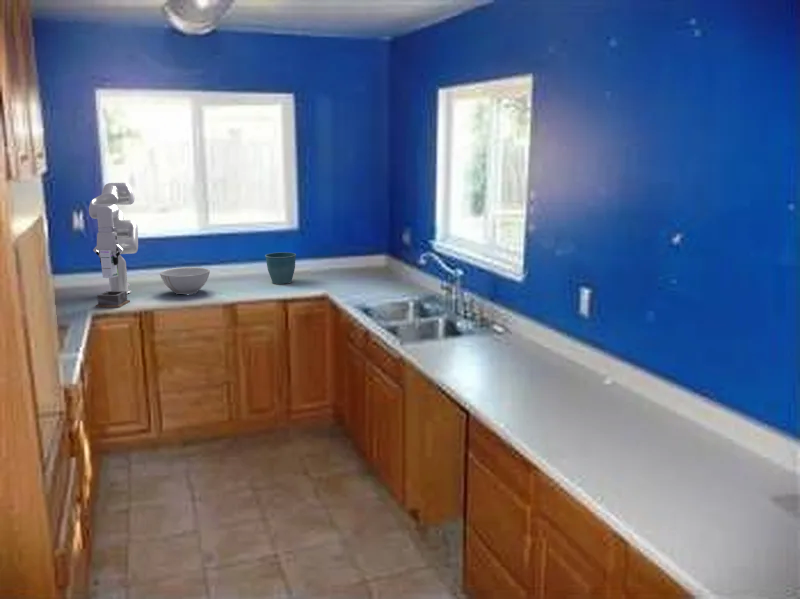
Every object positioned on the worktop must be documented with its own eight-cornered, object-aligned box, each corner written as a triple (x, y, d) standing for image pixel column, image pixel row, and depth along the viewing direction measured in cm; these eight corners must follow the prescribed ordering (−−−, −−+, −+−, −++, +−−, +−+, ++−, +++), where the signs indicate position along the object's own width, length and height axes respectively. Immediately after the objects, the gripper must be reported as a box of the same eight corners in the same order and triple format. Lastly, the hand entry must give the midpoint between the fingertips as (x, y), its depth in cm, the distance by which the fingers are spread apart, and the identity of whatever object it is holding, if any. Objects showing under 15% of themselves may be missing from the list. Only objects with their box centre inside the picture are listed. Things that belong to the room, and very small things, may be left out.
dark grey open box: (107, 301, 384) (105, 290, 382) (130, 301, 383) (129, 290, 382) (95, 307, 372) (94, 295, 370) (119, 307, 371) (118, 296, 369)
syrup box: (112, 278, 370) (110, 250, 367) (102, 277, 372) (99, 249, 368) (118, 276, 376) (116, 248, 373) (108, 275, 377) (106, 248, 374)
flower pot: (272, 286, 422) (271, 258, 418) (262, 281, 437) (261, 253, 433) (301, 283, 430) (300, 255, 426) (290, 278, 446) (289, 251, 442)
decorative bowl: (154, 297, 393) (152, 276, 390) (170, 287, 419) (169, 267, 416) (202, 298, 392) (201, 276, 389) (216, 287, 418) (215, 267, 416)
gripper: (126, 229, 372) (128, 263, 375) (93, 228, 373) (96, 263, 377) (119, 231, 364) (122, 266, 368) (86, 230, 365) (89, 265, 369)
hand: (109, 264), depth 372 cm, fingers closed on syrup box, 6 cm apart
